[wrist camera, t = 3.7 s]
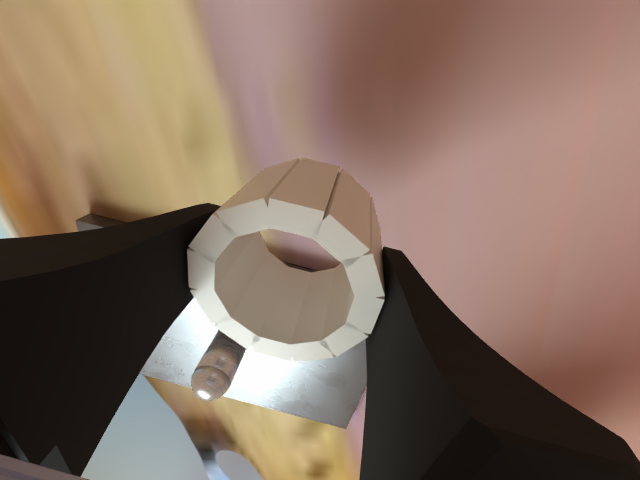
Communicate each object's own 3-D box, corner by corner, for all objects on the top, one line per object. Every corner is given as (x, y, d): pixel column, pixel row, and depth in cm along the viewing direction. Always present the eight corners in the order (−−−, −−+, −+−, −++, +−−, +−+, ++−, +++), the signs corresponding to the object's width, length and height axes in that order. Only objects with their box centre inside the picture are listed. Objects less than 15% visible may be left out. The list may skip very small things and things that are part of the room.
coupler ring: (398, 180, 10) (412, 232, 7) (357, 299, 13) (352, 378, 10) (245, 143, 11) (184, 176, 7) (237, 268, 13) (190, 335, 10)
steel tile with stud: (401, 292, 18) (412, 364, 13) (346, 416, 25) (341, 491, 20) (89, 213, 18) (-1, 258, 14) (122, 356, 26) (69, 417, 21)
